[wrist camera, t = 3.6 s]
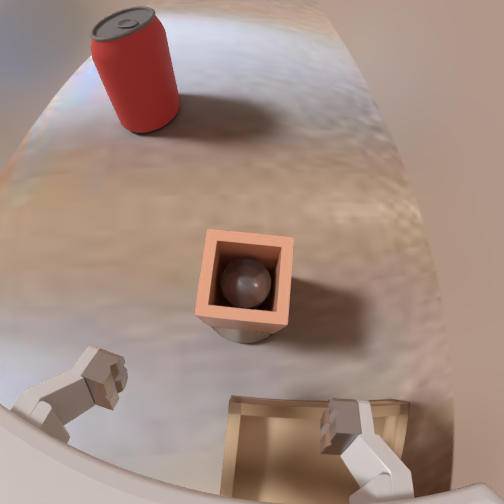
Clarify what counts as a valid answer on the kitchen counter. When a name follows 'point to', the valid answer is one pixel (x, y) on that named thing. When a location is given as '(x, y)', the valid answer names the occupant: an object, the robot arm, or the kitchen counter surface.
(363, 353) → the kitchen counter surface
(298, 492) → the tray
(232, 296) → the silver knob
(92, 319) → the kitchen counter surface
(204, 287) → the collar
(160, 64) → the beer can
